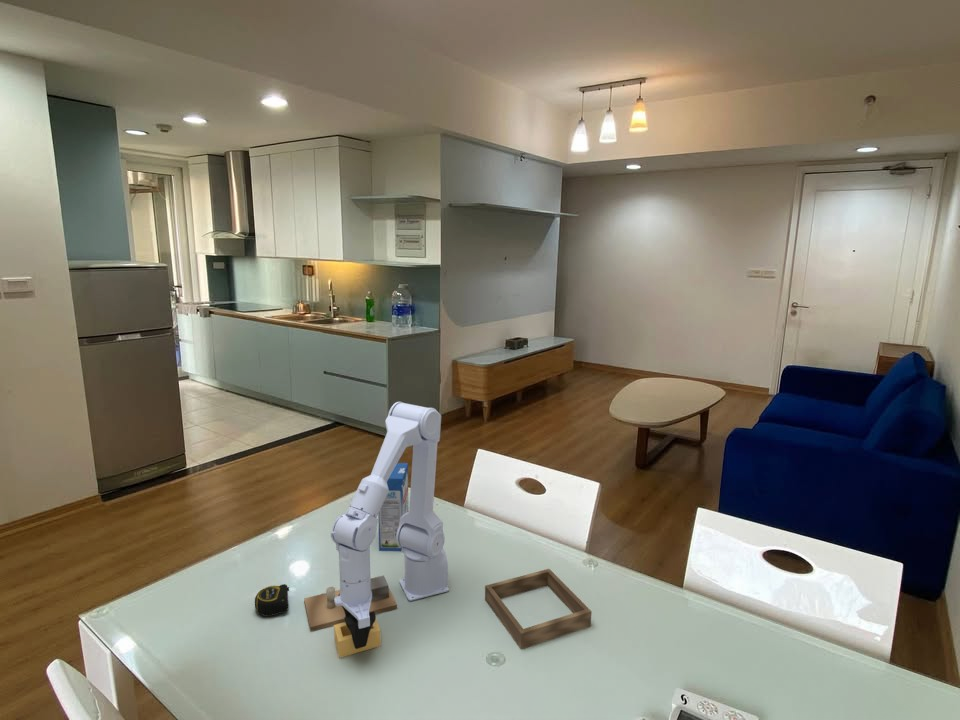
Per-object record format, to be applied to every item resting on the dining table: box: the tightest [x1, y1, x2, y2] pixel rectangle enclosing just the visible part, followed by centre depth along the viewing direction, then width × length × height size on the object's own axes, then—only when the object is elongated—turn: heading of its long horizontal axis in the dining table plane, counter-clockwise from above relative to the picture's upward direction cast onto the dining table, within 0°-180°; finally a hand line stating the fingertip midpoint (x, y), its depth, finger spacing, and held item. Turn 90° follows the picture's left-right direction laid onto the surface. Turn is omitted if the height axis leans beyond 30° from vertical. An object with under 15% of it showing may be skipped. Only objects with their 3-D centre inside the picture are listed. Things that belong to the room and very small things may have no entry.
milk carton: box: [377, 462, 409, 552], centre depth 141 cm, size 10×6×20 cm, turn 179°
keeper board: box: [303, 575, 398, 632], centre depth 117 cm, size 18×10×5 cm, turn 115°
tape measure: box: [254, 583, 290, 617], centre depth 116 cm, size 7×7×4 cm
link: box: [333, 619, 382, 659], centre depth 106 cm, size 8×5×4 cm, turn 115°
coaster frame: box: [484, 568, 592, 650], centre depth 116 cm, size 16×16×4 cm
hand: (357, 636), depth 106 cm, fingers closed on link, 5 cm apart
